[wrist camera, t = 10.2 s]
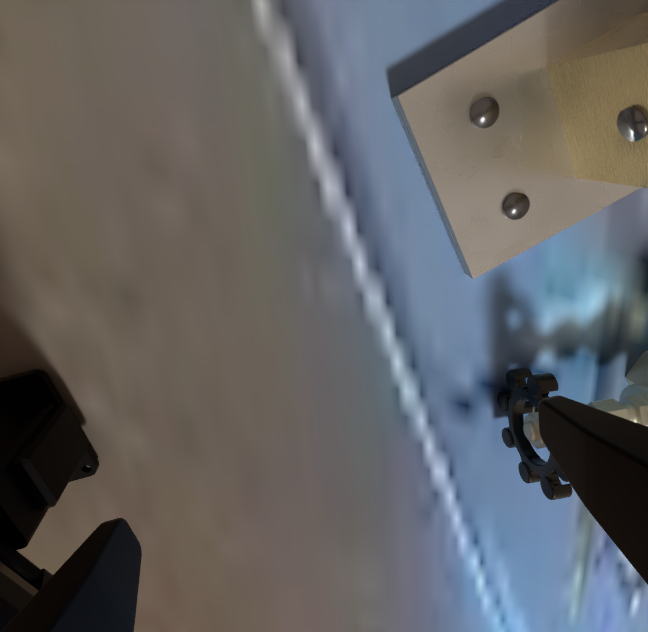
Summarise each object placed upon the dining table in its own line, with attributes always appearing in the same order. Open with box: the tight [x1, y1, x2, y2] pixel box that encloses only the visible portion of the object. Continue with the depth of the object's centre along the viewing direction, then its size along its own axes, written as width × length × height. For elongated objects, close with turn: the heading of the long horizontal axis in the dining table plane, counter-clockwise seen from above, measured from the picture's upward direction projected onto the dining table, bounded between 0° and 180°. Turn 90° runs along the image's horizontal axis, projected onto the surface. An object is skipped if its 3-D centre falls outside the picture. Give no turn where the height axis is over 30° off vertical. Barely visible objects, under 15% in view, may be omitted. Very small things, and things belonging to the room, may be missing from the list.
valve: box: [497, 350, 648, 500], centre depth 23 cm, size 7×7×12 cm
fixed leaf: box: [391, 0, 648, 279], centre depth 16 cm, size 12×9×8 cm
